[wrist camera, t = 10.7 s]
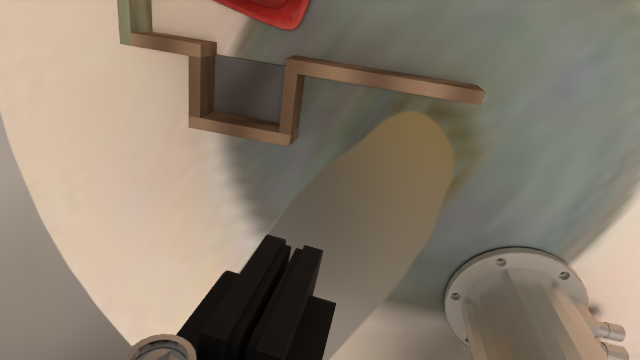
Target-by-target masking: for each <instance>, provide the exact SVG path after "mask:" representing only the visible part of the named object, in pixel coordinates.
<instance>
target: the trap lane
mask: <svg viewBox="0 0 640 360" xmlns="http://www.w3.org/2000/svg"><path fill="white" fill-rule="evenodd" d="M117 4H118V19H119V33H120V44H124V45H130V46H136V47H142V48H148V49H154V50H160V51H165V52H171V53H177V54H183V55H189V127H190V128H195V129H200V130H206V131H211V132H216V133H221V134H226V135H232V136H237V137H242V138H247V139H252V140H258V141H263V142H268V143H273V144H279V145H284V146H290V145H291V144H292V143H293V142H294V140H295V139H296V138H297V136H298V128H299V120H300V111H301V103H302V94H303V86H304V78H305V75H307V76H312V77H318V78H324V79H330V80H336V81H342V82H348V83H354V84H359V85H365V86H371V87H377V88H383V89H389V90H395V91H401V92H406V93H412V94H418V95H424V96H430V97H436V98H442V99H448V100H453V101H459V102H465V103H471V104H477V105H481V104H482V100H483V97H484V94H485V91H484V90H482V89H481V88H480V87H478V86H477V85H471V84H465V83H459V82H453V81H447V80H441V79H435V78H429V77H423V76H417V75H411V74H404V73H398V72H392V71H386V70H380V69H374V68H368V67H362V66H356V65H350V64H344V63H338V62H332V61H326V60H319V59H313V58H307V57H301V56H292V57H289V58H286V66H281V65H275V64H269V63H263V62H257V61H251V60H245V59H240V58H234V57H228V56H222V55H216V50H217V43H216V42H210V41H204V40H198V39H192V38H186V37H180V36H174V35H168V34H162V33H156V32H152V15H151V0H117Z"/></svg>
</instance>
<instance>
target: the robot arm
mask: <svg viewBox="0 0 640 360" xmlns="http://www.w3.org/2000/svg"><path fill="white" fill-rule="evenodd" d="M285 244H286V240H285V239H281V238H278V237H275V236H271V235H266V236H265V238H264V239H263V241H262V242H261V244H260V245H259V247H258V248H257V250H256V251H255V252H254V254H253V255H252V257H251V258H250V260H249V261H248V263H247V264H246V266H245V267H244V268H243V270H242V271H241V273H240V274H238V273H234V272H231V271H228V270H227V271H225V272H224V273H223V274H222V275H221V277H220V278H219V279H218V281H217V282H216V283H215V285H214V286H213V287H212V289H211V290H210V291H209V292H208V294H207V295H206V296H205V298H204V299H203V300H202V302H201V303H200V304H199V306H198V307H197V308H196V310H195V311H194V312H193V314H192V315H191V316H190V317H189V319H188V320H187V321H186V323H185V324H184V325H183V327H182V328H181V329H180V331H179V332H178V333H177V335H171V334H160V335H154V336H150V337H148V338H145V339H143V340H141V341H139V342H138V343H136V344H135V345H133V346H132V347H131V348H130V349H129V350H127V351H126V352H125V353H124V354H123V355H122V356H121V357H120V358H119V359H117V360H322V358H323V354H324V350H325V346H326V342H327V338H328V334H329V330H330V326H331V322H332V318H333V314H334V310H335V306H336V303H334V302H331V301H327V300H324V299H321V298H317V297H314V296H313V292H314V288H315V284H316V279H317V275H318V271H319V267H320V262H321V258H322V254H323V250H320V249H317V248H313V247H310V246H306V245H305V246H304V248H303V250H302V249H298V248H296V249H295V251H294V253H293V255H292V257H291V259H290V261H289V257H290V251H291V246H288V245H285ZM288 262H289V263H288ZM444 307H445V313H446V318H447V322H448V324H449V326H450V328H451V330H452V331H453V332H454V334H455V335H456V336H457V337H458V338H459V339H460V340H461V341H462V342H463V343H464V344H466V345H467V346H469V347H470V351H471V355H472V359H473V360H629V355H628V353H627V350H626V349H625V348H624V347H621V346H617V345H613V344H608V343H604V342H598V341H597V339H596V338H595V336H600V337H603V338H605V339H610V340H614V341H619V342H622V341H623V340H624V338H625V330H624V328H623V327H622V326H620V325H616V324H611V323H607V322H599V321H596V319H595V318H594V317H593V316H592V315H591V313H590V312H589V310H588V308H589V300H588V295H587V291H586V289H585V287H584V285H583V283H582V281H581V279H580V278H579V277H578V275H577V274H576V273H575V271H574V270H573V269H572V268H571V267H570V266H568V265H567V264H566V263H565V262H564V261H562V260H560V259H559V258H557V257H555V256H553V255H551V254H548V253H546V252H543V251H539V250H534V249H529V248H505V249H498V250H494V251H490V252H487V253H484V254H482V255H480V256H477V257H475V258H473V259H472V260H470V261H469V262H467V263H466V264H464V265H463V266H462V267H461V268H460V269H459V270H458V271H457V272H456V273H455V274H454V276H453V277H452V278H451V280H450V281H449V284H448V286H447V288H446V291H445V297H444Z"/></svg>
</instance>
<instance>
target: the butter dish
mask: <svg viewBox="0 0 640 360" xmlns="http://www.w3.org/2000/svg"><path fill="white" fill-rule="evenodd" d="M214 1H216V2H218V3H220V4H222V5H225V6H227V7H229V8H231V9H234V10H236V11H238V12H240V13H243V14H245V15H247V16H250V17H252V18H254V19H256V20H259V21H262V22H263V23H266V24H268V25H271V26H274V27H277V28H281V29H286V30H294V29H296V28H297V27H298V26H299V25H300V23H301V21H302V19H303V17H304V14H305V12H306V9H307V7H308V4H309V1H310V0H214Z"/></svg>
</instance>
